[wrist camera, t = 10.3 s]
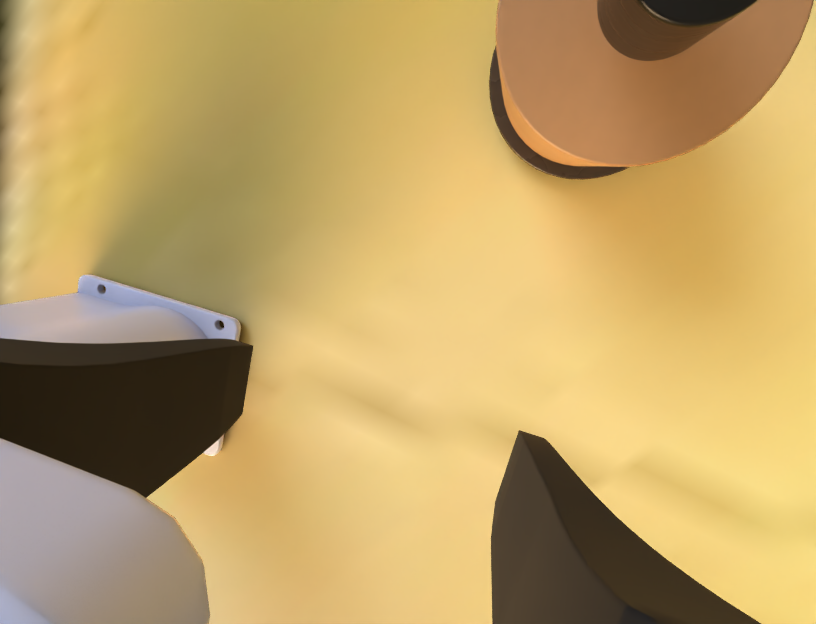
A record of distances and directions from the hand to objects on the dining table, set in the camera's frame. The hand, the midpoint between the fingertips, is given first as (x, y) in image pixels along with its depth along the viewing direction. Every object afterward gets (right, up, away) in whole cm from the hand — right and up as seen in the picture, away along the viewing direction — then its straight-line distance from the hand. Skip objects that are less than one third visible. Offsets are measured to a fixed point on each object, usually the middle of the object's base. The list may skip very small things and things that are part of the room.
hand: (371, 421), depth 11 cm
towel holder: (+8, +12, +6) cm, 16 cm away
